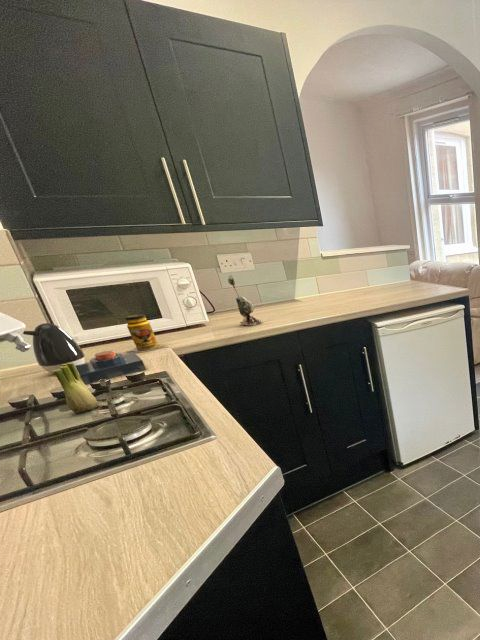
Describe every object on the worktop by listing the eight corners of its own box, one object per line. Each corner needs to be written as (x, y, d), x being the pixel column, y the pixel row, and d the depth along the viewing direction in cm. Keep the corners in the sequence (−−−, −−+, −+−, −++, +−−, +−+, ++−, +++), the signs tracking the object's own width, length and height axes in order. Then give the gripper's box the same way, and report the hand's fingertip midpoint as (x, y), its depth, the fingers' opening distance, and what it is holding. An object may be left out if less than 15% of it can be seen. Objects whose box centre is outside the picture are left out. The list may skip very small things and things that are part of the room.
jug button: (98, 362, 122) (95, 356, 122) (95, 359, 125) (93, 353, 124) (117, 357, 125) (115, 352, 125) (115, 354, 128) (112, 349, 127)
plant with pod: (239, 329, 167) (222, 278, 159) (240, 322, 176) (224, 274, 168) (262, 325, 171) (247, 275, 163) (261, 319, 180) (247, 272, 172)
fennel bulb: (80, 416, 100) (55, 370, 95) (64, 415, 101) (39, 369, 96) (106, 405, 105) (84, 360, 100) (90, 404, 106) (68, 360, 101)
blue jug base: (84, 385, 119) (76, 368, 117) (79, 375, 126) (71, 360, 124) (146, 369, 128) (139, 354, 126) (138, 361, 135) (131, 347, 133)
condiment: (147, 351, 145) (133, 318, 140) (126, 351, 146) (111, 318, 141) (166, 345, 151) (153, 312, 146) (146, 344, 153) (132, 312, 148)
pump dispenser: (35, 376, 127) (8, 328, 121) (75, 364, 136) (52, 318, 130) (59, 378, 124) (33, 329, 118) (98, 365, 134) (76, 319, 127)
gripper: (-21, 316, 101) (43, 350, 106) (-128, 343, 83) (-44, 383, 88) (-11, 296, 100) (54, 332, 105) (-118, 319, 81) (-33, 361, 86)
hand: (9, 355), depth 96 cm, fingers open, 8 cm apart
